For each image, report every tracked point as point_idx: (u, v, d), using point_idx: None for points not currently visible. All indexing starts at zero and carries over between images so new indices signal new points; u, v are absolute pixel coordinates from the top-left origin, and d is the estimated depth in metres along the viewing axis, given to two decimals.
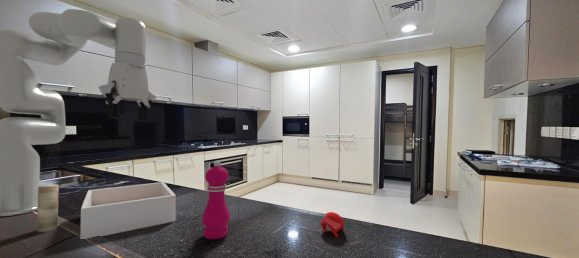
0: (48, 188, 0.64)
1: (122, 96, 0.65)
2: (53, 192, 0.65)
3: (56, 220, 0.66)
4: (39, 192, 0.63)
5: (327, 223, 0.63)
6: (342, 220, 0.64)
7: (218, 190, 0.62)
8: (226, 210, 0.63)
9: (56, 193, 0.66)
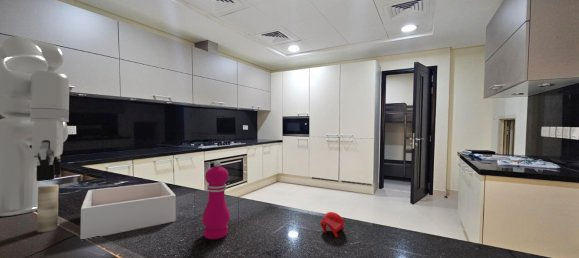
0: (48, 188, 0.64)
1: (55, 155, 0.63)
2: (53, 192, 0.65)
3: (56, 220, 0.66)
4: (39, 192, 0.63)
5: (327, 223, 0.63)
6: (342, 220, 0.64)
7: (218, 190, 0.62)
8: (226, 210, 0.63)
9: (56, 193, 0.66)
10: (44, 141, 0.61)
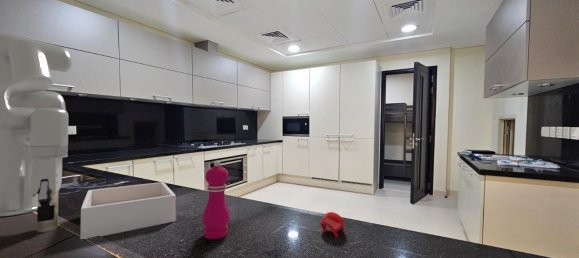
0: None
1: (54, 193, 0.63)
2: None
3: (56, 220, 0.66)
4: None
5: (327, 223, 0.63)
6: (342, 220, 0.64)
7: (218, 190, 0.62)
8: (226, 210, 0.63)
9: (56, 193, 0.66)
10: (43, 183, 0.61)
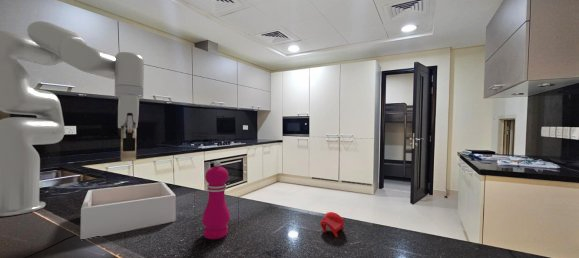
0: None
1: (136, 127, 0.72)
2: None
3: (135, 153, 0.75)
4: (123, 126, 0.72)
5: (327, 223, 0.63)
6: (342, 220, 0.64)
7: (218, 190, 0.62)
8: (226, 210, 0.63)
9: (135, 129, 0.74)
10: (128, 116, 0.70)
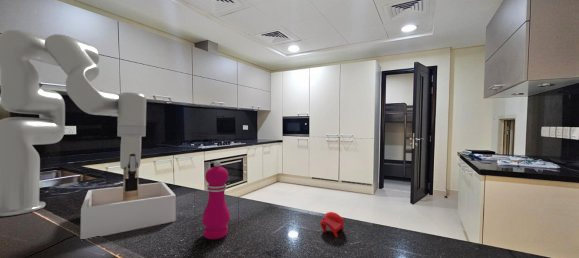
0: None
1: (138, 167, 0.72)
2: None
3: (137, 191, 0.75)
4: None
5: (327, 223, 0.63)
6: (342, 220, 0.64)
7: (218, 190, 0.62)
8: (226, 210, 0.63)
9: None
10: (131, 157, 0.71)
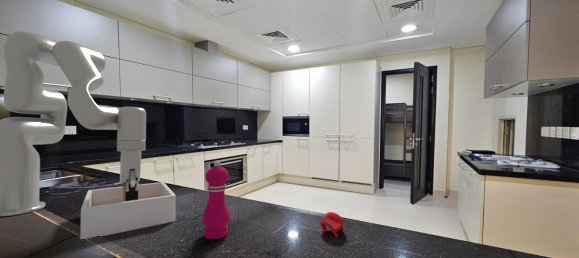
0: None
1: (138, 181, 0.72)
2: None
3: None
4: (125, 185, 0.72)
5: (327, 223, 0.63)
6: (342, 220, 0.64)
7: (218, 190, 0.62)
8: (226, 210, 0.63)
9: None
10: (131, 170, 0.70)
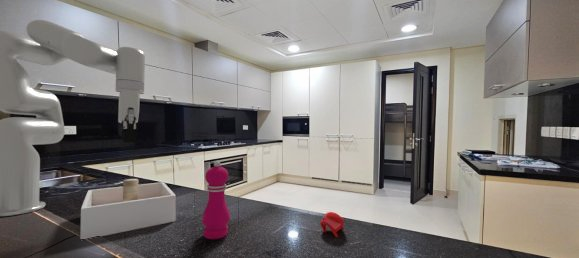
0: (132, 182, 0.73)
1: (136, 122, 0.72)
2: (135, 185, 0.74)
3: None
4: (125, 185, 0.72)
5: (327, 223, 0.63)
6: (342, 220, 0.64)
7: (218, 190, 0.62)
8: (226, 210, 0.63)
9: (137, 186, 0.75)
10: (129, 108, 0.70)
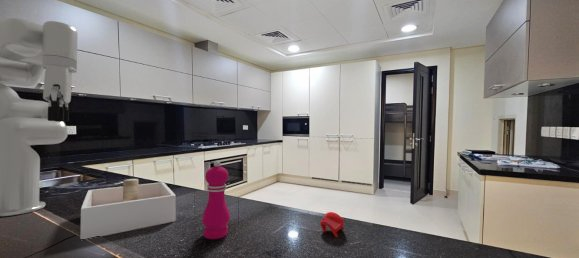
0: (132, 182, 0.73)
1: (65, 100, 0.69)
2: (135, 185, 0.74)
3: None
4: (125, 185, 0.72)
5: (327, 223, 0.63)
6: (342, 220, 0.64)
7: (218, 190, 0.62)
8: (226, 210, 0.63)
9: (137, 186, 0.75)
10: (55, 85, 0.67)
